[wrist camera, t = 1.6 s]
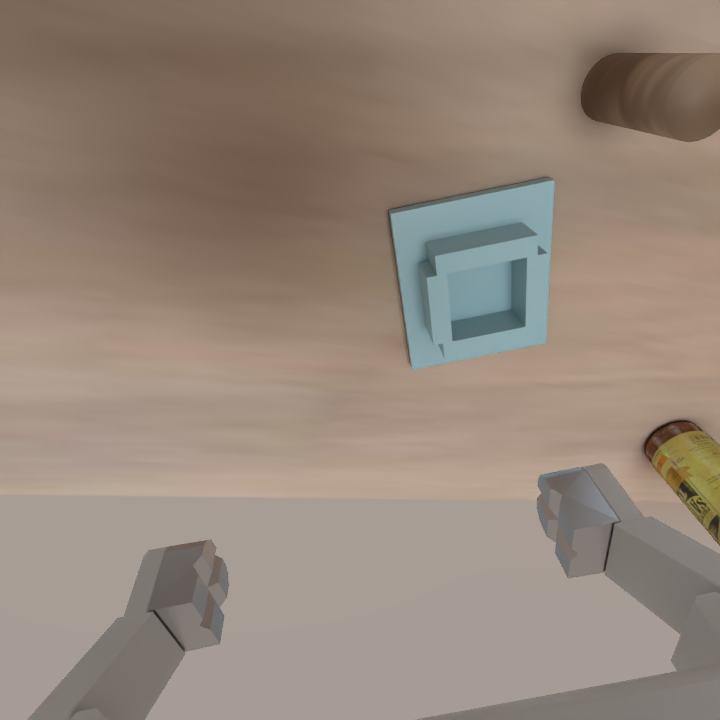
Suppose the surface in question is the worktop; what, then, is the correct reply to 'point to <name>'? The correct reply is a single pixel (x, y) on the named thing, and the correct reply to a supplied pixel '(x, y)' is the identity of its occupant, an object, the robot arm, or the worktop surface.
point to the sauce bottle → (690, 470)
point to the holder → (475, 271)
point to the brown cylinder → (656, 93)
